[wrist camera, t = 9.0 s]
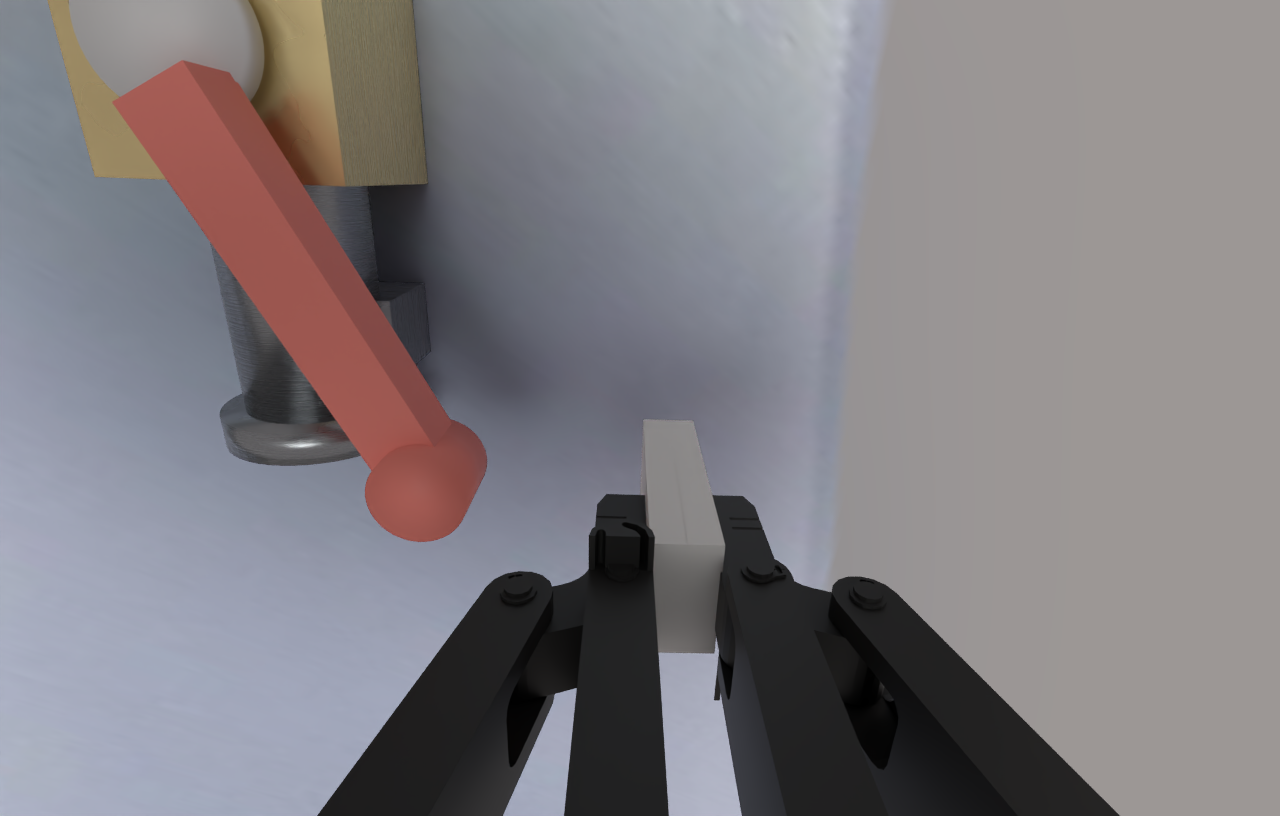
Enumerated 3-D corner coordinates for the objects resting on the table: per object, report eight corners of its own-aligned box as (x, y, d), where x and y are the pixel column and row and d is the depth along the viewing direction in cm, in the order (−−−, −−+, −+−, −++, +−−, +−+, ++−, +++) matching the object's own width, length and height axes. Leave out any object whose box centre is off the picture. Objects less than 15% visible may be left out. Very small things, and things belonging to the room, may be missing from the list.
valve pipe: (147, -391, 18) (-153, -745, 11) (380, -376, 18) (227, -716, 11) (290, 391, 27) (172, 465, 20) (445, 395, 27) (382, 471, 20)
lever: (67, -7, 15) (-75, -54, 12) (195, -89, 15) (79, -160, 12) (420, 505, 21) (383, 563, 18) (523, 460, 20) (503, 511, 17)
